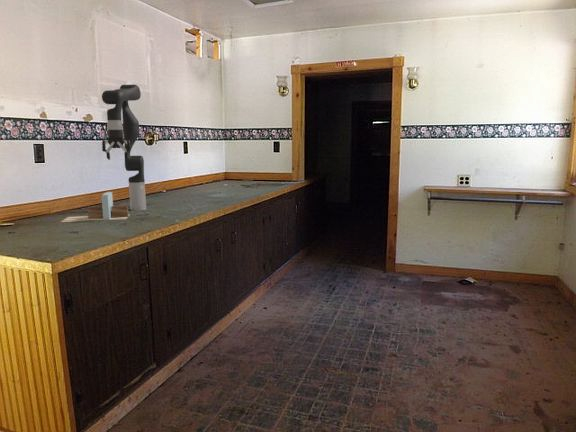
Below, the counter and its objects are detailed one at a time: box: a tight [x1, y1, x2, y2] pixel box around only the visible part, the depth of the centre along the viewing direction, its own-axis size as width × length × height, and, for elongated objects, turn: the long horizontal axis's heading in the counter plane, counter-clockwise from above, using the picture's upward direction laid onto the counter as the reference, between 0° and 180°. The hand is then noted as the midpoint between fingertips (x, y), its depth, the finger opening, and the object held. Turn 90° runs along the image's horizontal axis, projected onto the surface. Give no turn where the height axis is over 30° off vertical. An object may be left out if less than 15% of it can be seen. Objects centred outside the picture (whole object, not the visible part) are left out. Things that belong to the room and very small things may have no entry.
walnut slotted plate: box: [87, 205, 129, 219], centre depth 232 cm, size 2×20×6 cm, turn 103°
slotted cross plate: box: [101, 191, 114, 221], centre depth 232 cm, size 14×3×13 cm, turn 13°
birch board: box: [60, 213, 131, 223], centre depth 232 cm, size 16×32×1 cm, turn 103°
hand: (117, 159), depth 234 cm, fingers open, 8 cm apart
